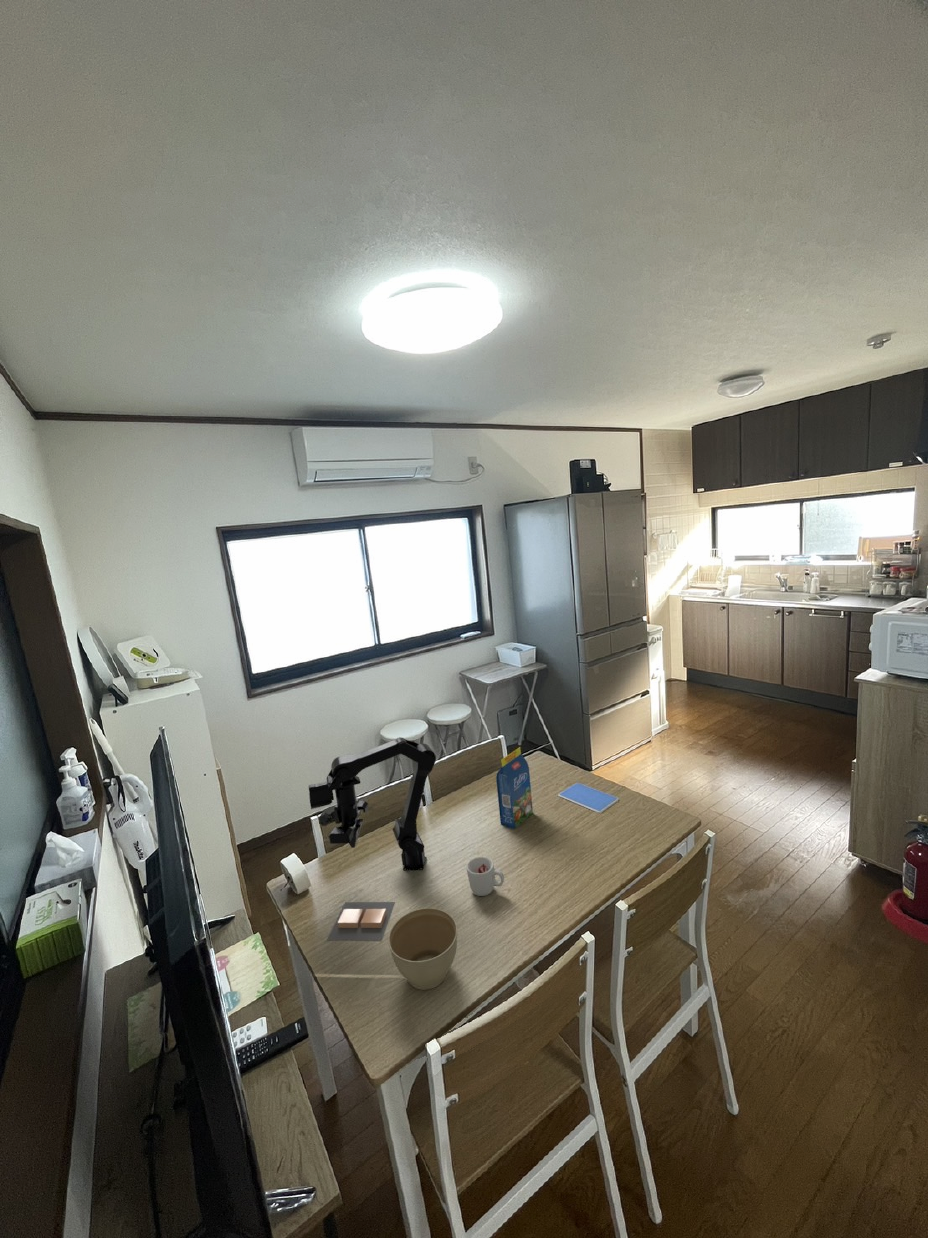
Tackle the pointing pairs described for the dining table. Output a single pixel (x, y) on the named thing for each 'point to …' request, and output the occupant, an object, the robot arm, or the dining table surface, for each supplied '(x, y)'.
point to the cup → (482, 875)
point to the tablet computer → (588, 797)
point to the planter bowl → (424, 946)
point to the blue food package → (514, 790)
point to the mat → (359, 932)
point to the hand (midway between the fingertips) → (353, 847)
